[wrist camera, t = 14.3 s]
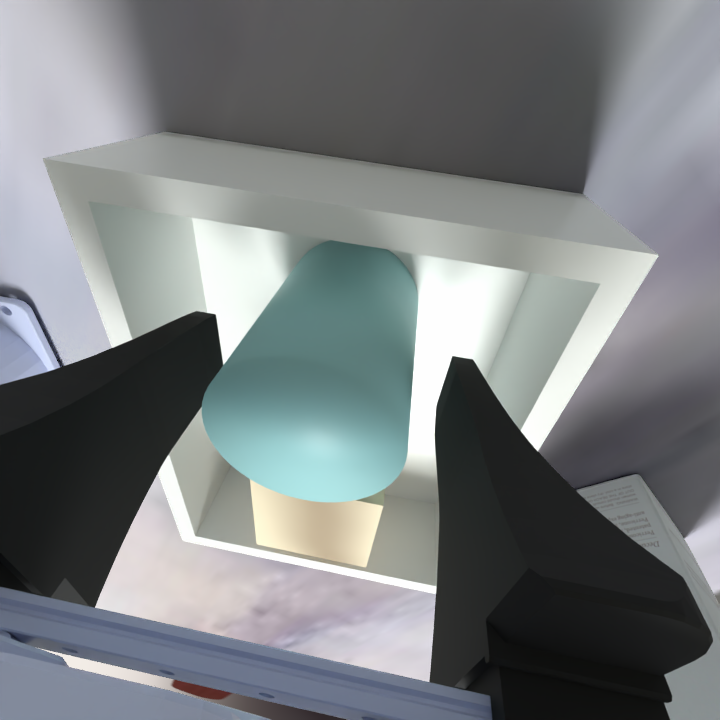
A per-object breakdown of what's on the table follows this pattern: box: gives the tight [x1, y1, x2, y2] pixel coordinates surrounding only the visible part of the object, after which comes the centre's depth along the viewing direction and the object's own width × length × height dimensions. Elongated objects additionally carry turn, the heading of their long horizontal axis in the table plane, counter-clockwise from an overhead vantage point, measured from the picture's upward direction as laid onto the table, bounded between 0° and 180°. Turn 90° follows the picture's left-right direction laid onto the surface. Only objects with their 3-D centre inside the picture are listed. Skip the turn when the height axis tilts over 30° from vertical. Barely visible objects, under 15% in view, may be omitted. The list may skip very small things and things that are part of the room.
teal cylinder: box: [202, 240, 418, 502], centre depth 12 cm, size 5×5×7 cm
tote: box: [43, 132, 659, 594], centre depth 16 cm, size 14×18×5 cm
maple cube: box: [250, 479, 385, 567], centre depth 17 cm, size 5×5×5 cm
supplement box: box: [576, 474, 720, 720], centre depth 17 cm, size 7×7×13 cm
